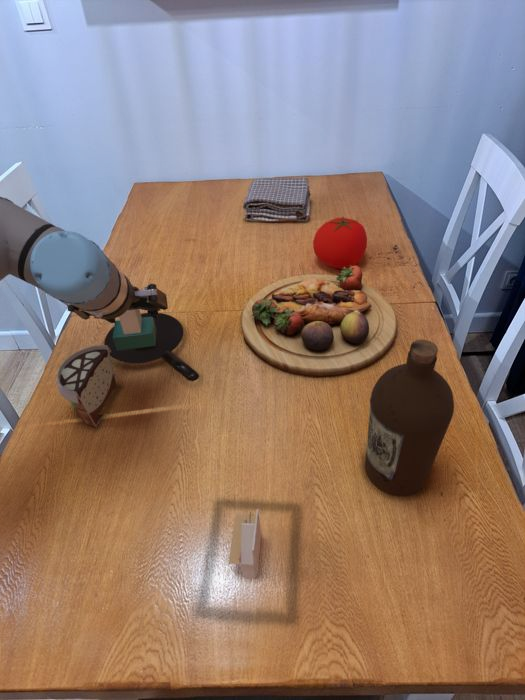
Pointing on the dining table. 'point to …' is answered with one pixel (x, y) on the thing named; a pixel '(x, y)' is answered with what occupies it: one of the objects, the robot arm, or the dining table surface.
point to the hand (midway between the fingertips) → (133, 313)
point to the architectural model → (246, 544)
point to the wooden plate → (319, 323)
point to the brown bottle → (407, 422)
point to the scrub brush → (134, 331)
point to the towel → (277, 200)
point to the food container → (87, 381)
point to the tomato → (340, 242)
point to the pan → (166, 342)
